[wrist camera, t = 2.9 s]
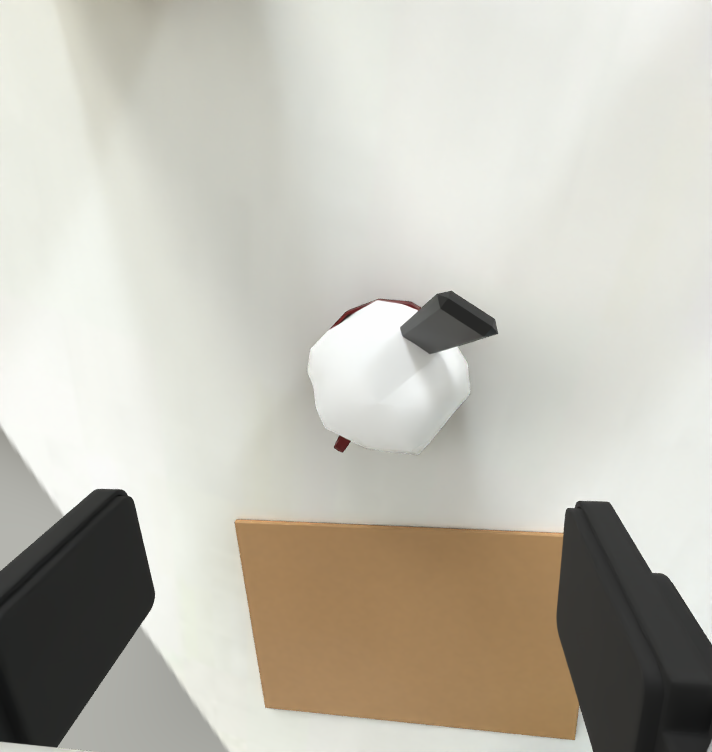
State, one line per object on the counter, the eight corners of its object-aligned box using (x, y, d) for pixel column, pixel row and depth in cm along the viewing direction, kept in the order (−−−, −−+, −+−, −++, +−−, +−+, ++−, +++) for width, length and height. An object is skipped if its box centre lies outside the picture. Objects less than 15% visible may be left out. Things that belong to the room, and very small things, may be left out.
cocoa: (362, 441, 26) (308, 620, 15) (288, 347, 25) (172, 467, 14) (522, 342, 23) (601, 475, 12) (446, 230, 22) (457, 266, 11)
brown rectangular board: (598, 534, 26) (599, 538, 26) (573, 735, 31) (574, 740, 31) (236, 519, 29) (234, 522, 29) (266, 703, 34) (265, 707, 34)
